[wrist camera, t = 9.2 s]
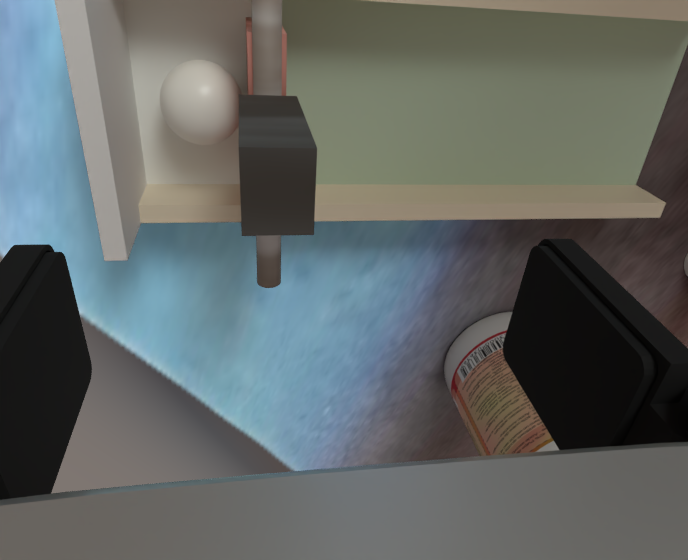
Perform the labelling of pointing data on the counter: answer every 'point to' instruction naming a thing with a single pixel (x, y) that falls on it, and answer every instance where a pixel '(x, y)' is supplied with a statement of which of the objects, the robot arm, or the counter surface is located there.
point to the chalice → (686, 265)
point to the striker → (273, 146)
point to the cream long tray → (386, 106)
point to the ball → (200, 102)
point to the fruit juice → (492, 392)
